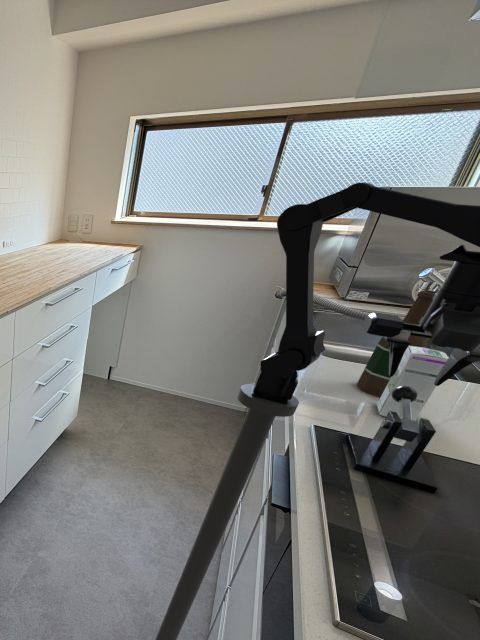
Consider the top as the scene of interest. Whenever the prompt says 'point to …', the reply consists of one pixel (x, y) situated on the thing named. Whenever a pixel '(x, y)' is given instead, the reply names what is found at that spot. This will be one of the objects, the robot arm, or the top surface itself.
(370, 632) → the top surface
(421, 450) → the black two-post stand
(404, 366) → the syrup box
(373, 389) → the beer bottle
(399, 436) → the lever
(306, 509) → the top surface
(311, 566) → the top surface
